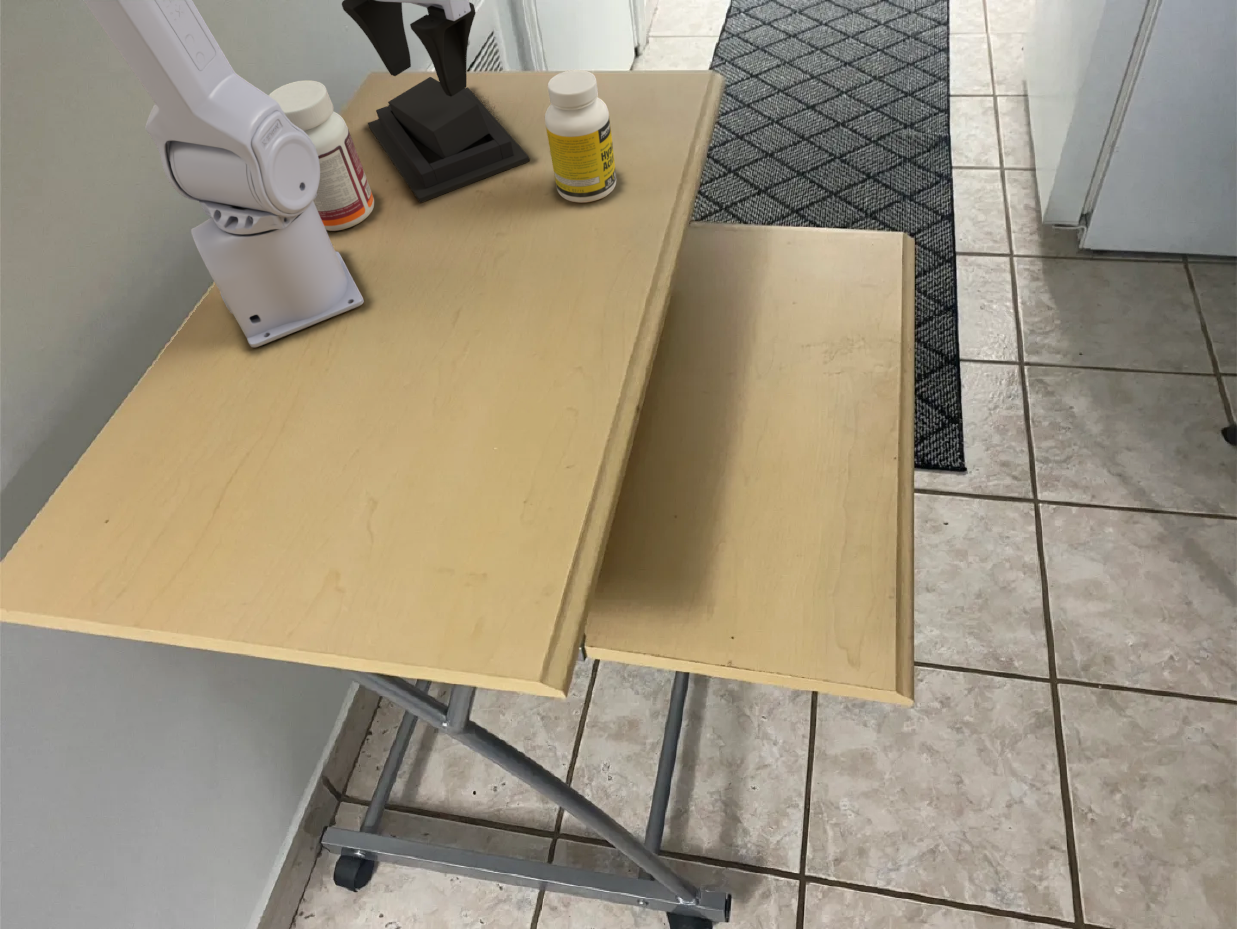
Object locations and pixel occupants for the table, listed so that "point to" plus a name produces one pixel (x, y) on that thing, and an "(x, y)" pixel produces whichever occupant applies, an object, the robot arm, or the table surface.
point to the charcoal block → (439, 118)
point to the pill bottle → (329, 154)
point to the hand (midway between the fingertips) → (428, 80)
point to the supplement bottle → (579, 137)
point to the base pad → (447, 174)
